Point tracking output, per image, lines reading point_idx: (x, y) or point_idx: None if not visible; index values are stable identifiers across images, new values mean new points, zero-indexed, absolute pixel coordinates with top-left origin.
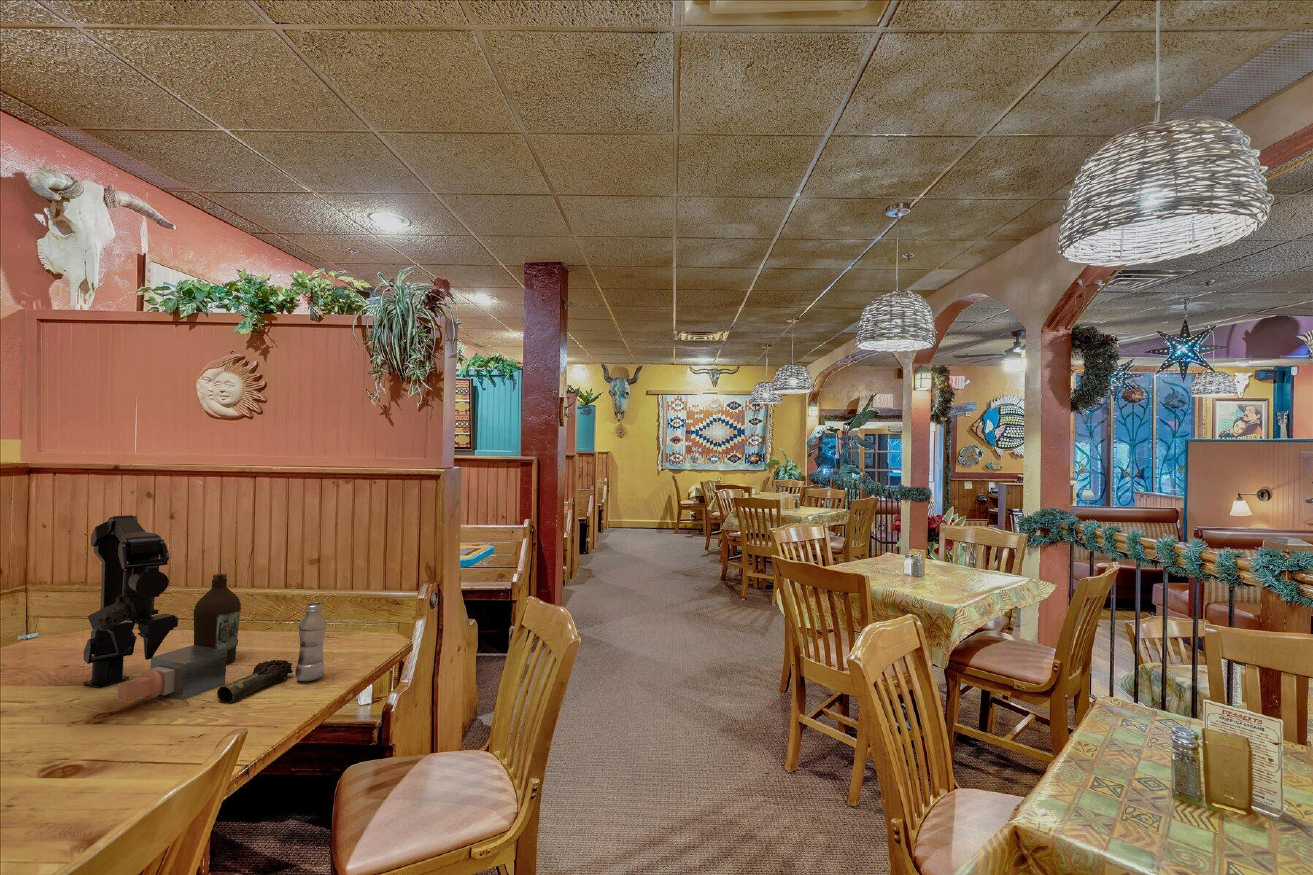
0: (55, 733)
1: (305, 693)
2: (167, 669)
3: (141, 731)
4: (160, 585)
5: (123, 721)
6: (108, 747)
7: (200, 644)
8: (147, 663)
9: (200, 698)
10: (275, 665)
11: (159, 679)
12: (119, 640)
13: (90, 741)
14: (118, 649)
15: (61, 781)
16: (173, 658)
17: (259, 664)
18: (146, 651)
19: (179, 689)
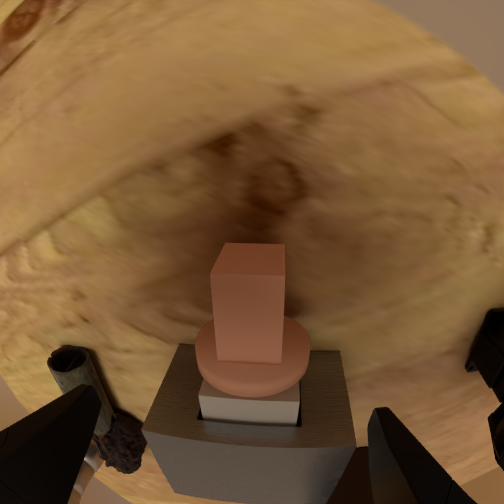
0: (260, 42)
1: (36, 392)
2: (228, 412)
3: (53, 171)
4: None
5: (155, 183)
6: (37, 91)
7: (359, 499)
8: (485, 412)
9: (147, 356)
10: (99, 454)
11: (197, 363)
12: (403, 499)
13: (98, 72)
14: (382, 435)
15: (4, 12)
16: (249, 457)
17: (120, 458)
18: (38, 411)
19: (189, 364)
